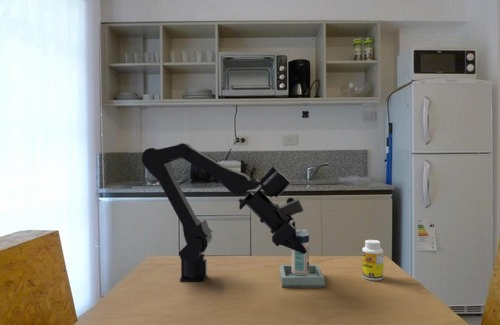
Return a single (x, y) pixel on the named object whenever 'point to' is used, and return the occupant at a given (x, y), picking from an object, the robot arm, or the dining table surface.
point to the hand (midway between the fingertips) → (305, 250)
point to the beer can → (301, 255)
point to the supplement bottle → (372, 260)
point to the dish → (302, 277)
